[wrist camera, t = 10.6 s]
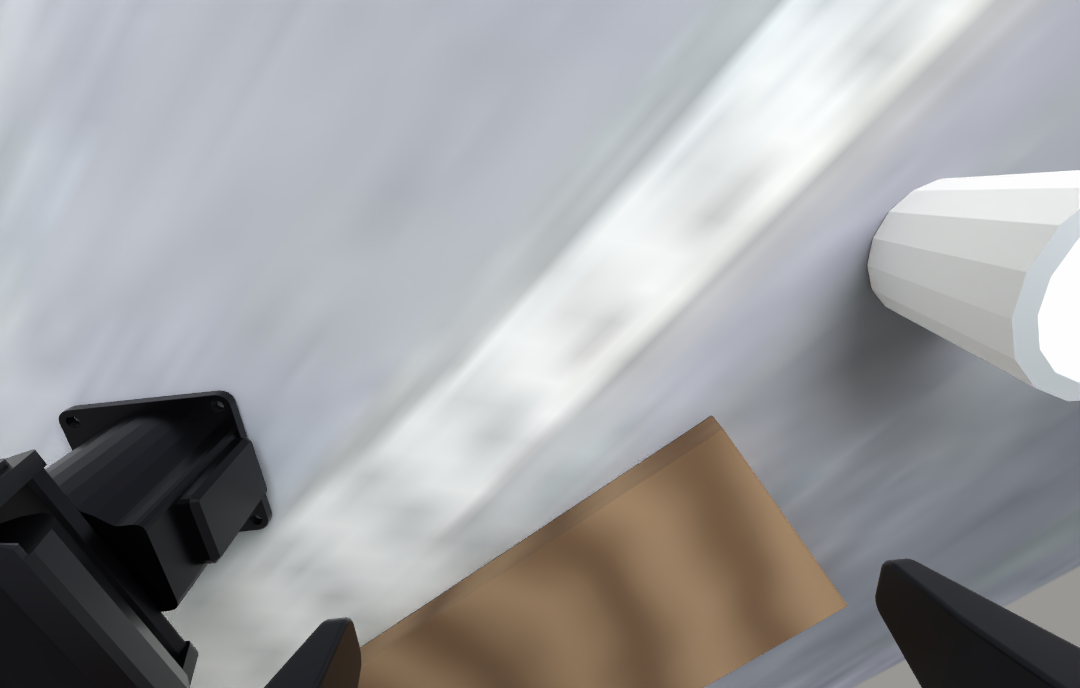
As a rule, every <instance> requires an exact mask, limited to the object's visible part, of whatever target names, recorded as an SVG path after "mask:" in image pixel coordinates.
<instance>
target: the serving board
mask: <svg viewBox="0 0 1080 688" xmlns="http://www.w3.org/2000/svg"><path fill="white" fill-rule="evenodd" d="M846 606H848V605H847V604H846V603H845V601H844V600H843V598H842V597H841V595H840V594H839V593H838V591H837V590H836V588H835V587H834V586H833V584H832V583H831V581H830V580H829V578H828V577H827V576H826V574H825V573H824V571H823V570H822V568H821V567H820V566H819V564H818V563H817V561H816V560H815V559H814V557H813V556H812V554H811V553H810V551H809V550H808V549H807V547H806V546H805V544H804V543H803V542H802V540H801V539H800V537H799V536H798V534H797V533H796V532H795V530H794V529H793V527H792V526H791V525H790V523H789V522H788V520H787V519H786V517H785V516H784V515H783V513H782V512H781V510H780V509H779V507H778V506H777V505H776V503H775V502H774V500H773V499H772V498H771V496H770V495H769V493H768V492H767V490H766V489H765V488H764V486H763V485H762V483H761V482H760V481H759V479H758V478H757V476H756V475H755V473H754V472H753V471H752V469H751V468H750V466H749V465H748V464H747V462H746V461H745V459H744V458H743V456H742V455H741V454H740V452H739V451H738V449H737V448H736V447H735V445H734V444H733V442H732V441H731V439H730V438H729V437H728V435H727V434H726V432H725V431H724V429H723V428H722V427H721V426H720V425H719V423H718V422H717V421H716V420H715V418H714V417H713V416H711V417H709V418H707V419H706V420H704V421H703V422H701V423H700V424H698V425H697V426H695V427H694V428H692V429H691V430H689V431H688V432H686V433H685V434H683V435H682V436H680V437H679V438H677V439H676V440H674V441H673V442H671V443H670V444H668V445H667V446H665V447H664V448H662V449H661V450H659V451H658V452H656V453H654V454H653V455H651V456H650V457H648V458H647V459H645V460H644V461H642V462H641V463H639V464H638V465H636V466H635V467H633V468H632V469H630V470H629V471H627V472H626V473H624V474H623V475H621V476H620V477H618V478H617V479H615V480H614V481H612V482H611V483H609V484H608V485H606V486H605V487H603V488H602V489H600V490H598V491H597V492H595V493H594V494H592V495H591V496H589V497H588V498H586V499H585V500H583V501H582V502H580V503H579V504H577V505H576V506H574V507H573V508H571V509H570V510H568V511H567V512H565V513H564V514H562V515H561V516H559V517H558V518H556V519H555V520H553V521H552V522H550V523H549V524H547V525H545V526H544V527H542V528H541V529H539V530H538V531H536V532H535V533H533V534H532V535H530V536H529V537H527V538H526V539H524V540H523V541H521V542H520V543H518V544H517V545H515V546H514V547H512V548H511V549H509V550H508V551H506V552H505V553H503V554H502V555H500V556H499V557H497V558H496V559H494V560H492V561H491V562H489V563H488V564H486V565H485V566H483V567H482V568H480V569H479V570H477V571H476V572H474V573H473V574H471V575H470V576H468V577H467V578H465V579H464V580H462V581H461V582H459V583H458V584H456V585H455V586H453V587H452V588H450V589H449V590H447V591H446V592H444V593H443V594H441V595H440V596H438V597H436V598H435V599H433V600H432V601H430V602H429V603H427V604H426V605H424V606H423V607H421V608H420V609H418V610H417V611H415V612H414V613H412V614H411V615H409V616H408V617H406V618H405V619H403V620H402V621H400V622H399V623H397V624H396V625H394V626H393V627H391V628H390V629H388V630H387V631H385V632H383V633H382V634H380V635H379V636H377V637H376V638H374V639H373V640H371V641H370V642H368V643H367V644H365V645H364V646H362V647H361V648H360V651H361V660H362V662H361V672H360V678H359V684H358V688H704V687H705V686H707V685H709V684H711V683H712V682H714V681H716V680H718V679H720V678H721V677H723V676H725V675H727V674H728V673H730V672H732V671H734V670H735V669H737V668H739V667H741V666H742V665H744V664H746V663H748V662H749V661H751V660H753V659H755V658H756V657H758V656H760V655H762V654H764V653H765V652H767V651H769V650H771V649H772V648H774V647H776V646H778V645H779V644H781V643H783V642H785V641H786V640H788V639H790V638H792V637H793V636H795V635H797V634H799V633H801V632H802V631H804V630H806V629H808V628H809V627H811V626H813V625H815V624H816V623H818V622H820V621H822V620H823V619H825V618H827V617H829V616H830V615H832V614H834V613H836V612H837V611H839V610H841V609H843V608H845V607H846Z"/></svg>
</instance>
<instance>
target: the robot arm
mask: <svg viewBox="0 0 1080 688" xmlns="http://www.w3.org/2000/svg"><path fill="white" fill-rule="evenodd" d="M216 401H220V402H221V403H223V405H224V408H223V407H220V406H218V405H217V404H216ZM74 417H76V418H78V419H79V421H80V422H78V421H76V419H75V418H74ZM59 422H60V425H61V427H62V429H63V431H64V434H65V436H66V438H67V440H68V442H69V444H70V446H71V448H72V451H71V452H70V453H68V454H67V455H66V456H64V457H63V458H61V459H60V460H58V461H57V462H55V463H54V464H52V465H51V466H50V467H48V468H47V469H44V467H45V466H46V465H47V464H46V463H45V462H44V460H43V459H42V458H41V457H40V455H39V454H38V453H37V452H36V450H30V451H27V452H24V453H21V454H18V455H15V456H12V457H9V458H7V459H0V688H190V684H191V680H192V676H193V672H194V669H195V665H196V661H197V657H198V651H197V650H196V649H195V647H194V646H193V645H192V644H191V642H190V641H184V640H183V639H182V637H181V636H180V635H179V634H178V632H177V631H176V630H175V629H174V628H173V626H172V625H171V624H170V623H169V621H168V620H167V619H166V618H165V616H164V615H163V614H162V613H161V612H162V611H170V610H174V609H176V608H177V606H178V605H179V604H180V602H181V601H182V599H183V598H184V597H185V595H186V594H187V592H188V591H189V590H190V588H191V587H192V585H193V584H194V583H195V581H196V580H197V578H198V577H199V576H200V574H201V573H202V571H203V570H204V569H205V567H206V566H207V564H211V563H216V562H217V561H218V560H219V559H220V558H221V556H222V555H223V554H224V552H225V551H226V549H227V548H228V546H229V545H230V544H231V542H232V541H233V539H234V538H235V536H236V535H237V533H238V532H241V531H250V530H258V529H262V528H264V527H266V526H267V524H268V523H269V521H270V520H271V518H272V512H271V509H270V506H269V502H268V499H267V496H266V492H267V488H266V485H265V481H264V478H263V475H262V472H261V469H260V466H259V463H258V460H257V457H256V454H255V451H254V447H253V444H252V442H251V441H250V440H249V439H248V438H247V435H246V432H245V429H244V426H243V423H242V420H241V417H240V414H239V411H238V408H237V404H236V401H235V399H234V398H233V396H232V395H231V394H229V393H228V392H225V391H211V392H201V393H192V394H182V395H173V396H163V397H154V398H144V399H135V400H125V401H116V402H106V403H97V404H87V405H78V406H73V407H70V408H69V409H67V410H65V411H64V412H62V413H61V414H60V416H59ZM255 515H258V516H260V517H261V518H262V519H259V518H257V517H256V516H255ZM875 599H876V605H877V608H878V611H879V613H880V615H881V616H882V618H883V620H884V622H885V623H886V625H887V627H888V629H889V631H890V632H891V634H892V636H893V638H894V639H895V641H896V643H897V645H898V646H899V648H900V650H901V652H902V653H903V655H904V657H905V659H906V661H907V662H908V664H909V666H910V668H911V669H912V671H913V673H914V675H915V676H916V678H917V680H918V682H919V684H920V685H921V687H922V688H1080V648H1079V647H1077V646H1075V645H1073V644H1071V643H1070V642H1068V641H1066V640H1064V639H1062V638H1060V637H1058V636H1056V635H1054V634H1052V633H1051V632H1048V631H1047V630H1045V629H1043V628H1041V627H1038V626H1037V625H1035V624H1034V623H1031V622H1030V621H1028V620H1026V619H1024V618H1022V617H1020V616H1018V615H1017V614H1015V613H1013V612H1011V611H1009V610H1007V609H1005V608H1003V607H1001V606H1000V605H998V604H996V603H994V602H992V601H990V600H988V599H986V598H984V597H983V596H981V595H979V594H977V593H975V592H973V591H971V590H969V589H967V588H966V587H964V586H962V585H960V584H958V583H956V582H954V581H952V580H950V579H949V578H947V577H945V576H943V575H941V574H939V573H937V572H935V571H933V570H931V569H930V568H928V567H926V566H924V565H922V564H920V563H918V562H916V561H914V560H911V559H897V560H888V561H885V563H884V564H883V565H882V567H881V572H880V576H879V581H878V586H877V590H876V596H875ZM361 662H362V660H361V651H360V647H359V643H358V639H357V635H356V632H355V628H354V624H353V622H352V620H351V619H350V618H347V617H346V618H337V619H328V620H326V621H324V622H323V623H321V624H320V626H319V627H318V628H317V629H316V630H315V631H314V632H313V633H312V634H311V636H310V637H309V638H308V639H307V640H306V641H305V642H304V643H303V645H302V646H301V647H300V648H299V649H298V650H297V651H296V652H295V654H294V655H293V656H292V657H291V658H290V659H289V660H288V661H287V662H286V664H285V665H284V666H283V667H282V668H281V669H280V670H279V671H278V673H277V674H276V675H275V676H274V677H273V678H272V679H271V680H270V682H269V683H268V684H267V685H266V686H265V687H264V688H358V684H359V678H360V672H361Z"/></svg>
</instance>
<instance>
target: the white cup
mask: <svg viewBox="0 0 1080 688" xmlns="http://www.w3.org/2000/svg"><path fill="white" fill-rule="evenodd" d="M867 267H868V272H869V278H870V283H871V288H872V290H873V292H874V293H875V294H876V295H877V297H878V298H879V299H880V301H881V302H882V303H883V304H884V306H885V307H887V308H889V309H890V310H892V311H894V312H896V313H898V314H900V315H902V316H903V317H905V318H907V319H909V320H911V321H913V322H914V323H916V324H918V325H920V326H922V327H924V328H926V329H927V330H929V331H931V332H933V333H935V334H937V335H939V336H940V337H942V338H944V339H946V340H948V341H950V342H951V343H953V344H955V345H957V346H959V347H961V348H963V349H964V350H966V351H968V352H970V353H972V354H974V355H975V356H977V357H979V358H981V359H983V360H985V361H987V362H988V363H990V364H992V365H994V366H996V367H998V368H999V369H1001V370H1003V371H1005V372H1007V373H1009V374H1011V375H1012V376H1014V377H1016V378H1018V379H1020V380H1022V381H1024V382H1025V383H1027V384H1029V385H1031V386H1033V387H1035V388H1037V389H1039V390H1042V391H1044V392H1047V393H1049V394H1051V395H1054V396H1056V397H1059V398H1061V399H1063V400H1066V401H1080V170H1076V171H1060V172H1044V173H1028V174H1012V175H995V176H979V177H963V178H947V179H938V180H936V181H934V182H931V183H929V184H927V185H924V186H922V187H920V188H917V189H915V190H913V191H911V192H910V193H909V194H908V195H907V196H906V197H905V198H903V199H902V200H901V201H900V202H899V203H898V204H897V205H896V206H895V207H893V208H892V209H891V210H890V211H889V212H888V214H887V215H886V217H885V219H884V220H883V222H882V224H881V225H880V227H879V229H878V230H877V232H876V234H875V235H874V237H873V240H872V245H871V250H870V254H869V259H868V264H867Z"/></svg>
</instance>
